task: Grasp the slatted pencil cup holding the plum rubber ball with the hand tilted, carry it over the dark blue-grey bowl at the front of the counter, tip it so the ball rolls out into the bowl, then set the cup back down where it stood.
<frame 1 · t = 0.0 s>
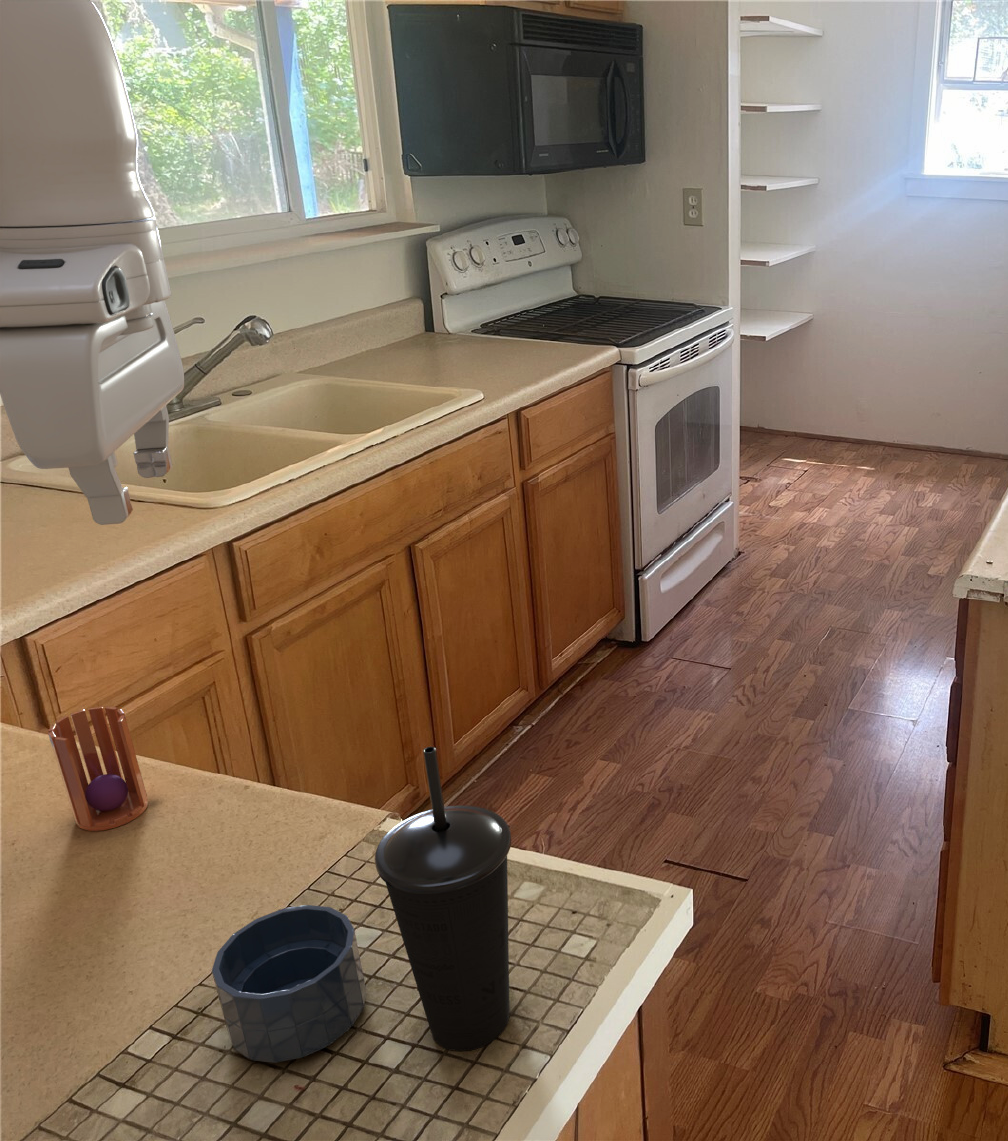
hand: (137, 496, 68), 30 cm above the countertop, tool pointing down, fingers open, 8 cm apart
slatted pencil cup: (112, 811, 88), on the countertop, touching ball
ball: (106, 792, 88), point 2 cm above the countertop, touching slatted pencil cup
drinking cup: (470, 1024, 67), on the countertop
bowl: (300, 1017, 68), on the countertop
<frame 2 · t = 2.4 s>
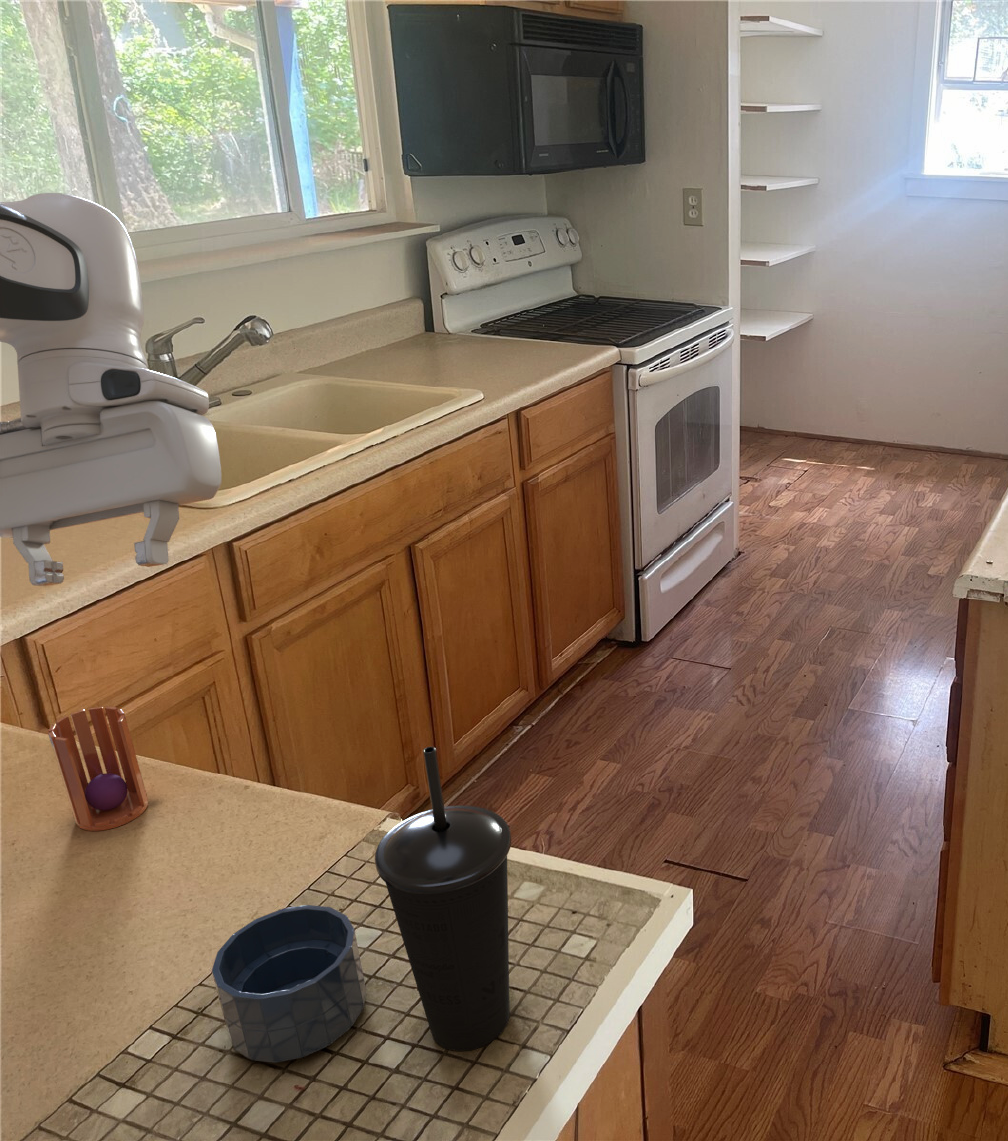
hand: (99, 575, 83), 20 cm above the countertop, tool tilted 30°, fingers open, 8 cm apart
ball: (106, 791, 88), point 2 cm above the countertop, tilted 5°, touching slatted pencil cup
everything else where it was.
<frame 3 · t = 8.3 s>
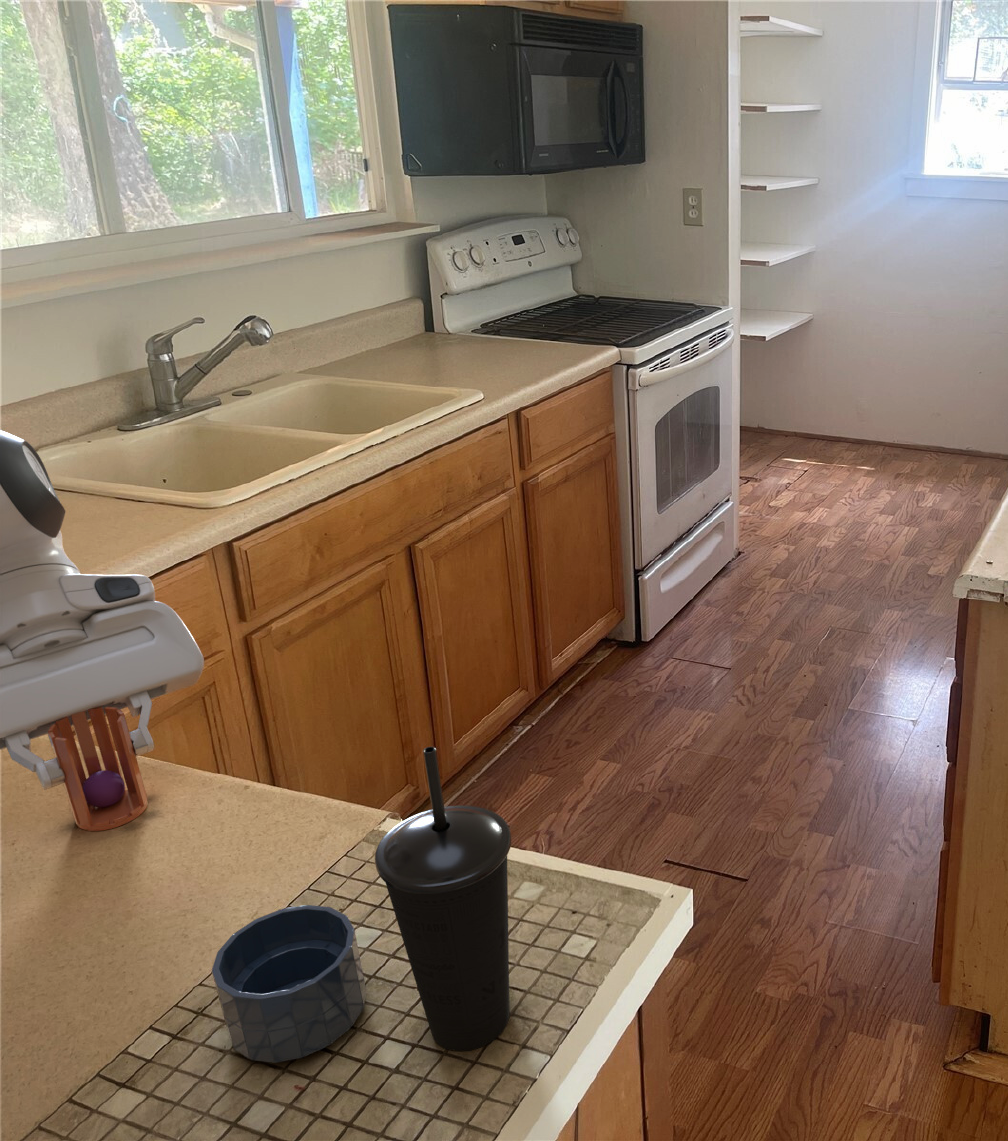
hand: (101, 767, 86), 5 cm above the countertop, tool tilted 45°, fingers closed on slatted pencil cup, 5 cm apart
slatted pencil cup: (112, 811, 88), on the countertop, touching ball, gripper
ball: (103, 788, 88), point 2 cm above the countertop, tilted 30°, touching slatted pencil cup
everything else where it was.
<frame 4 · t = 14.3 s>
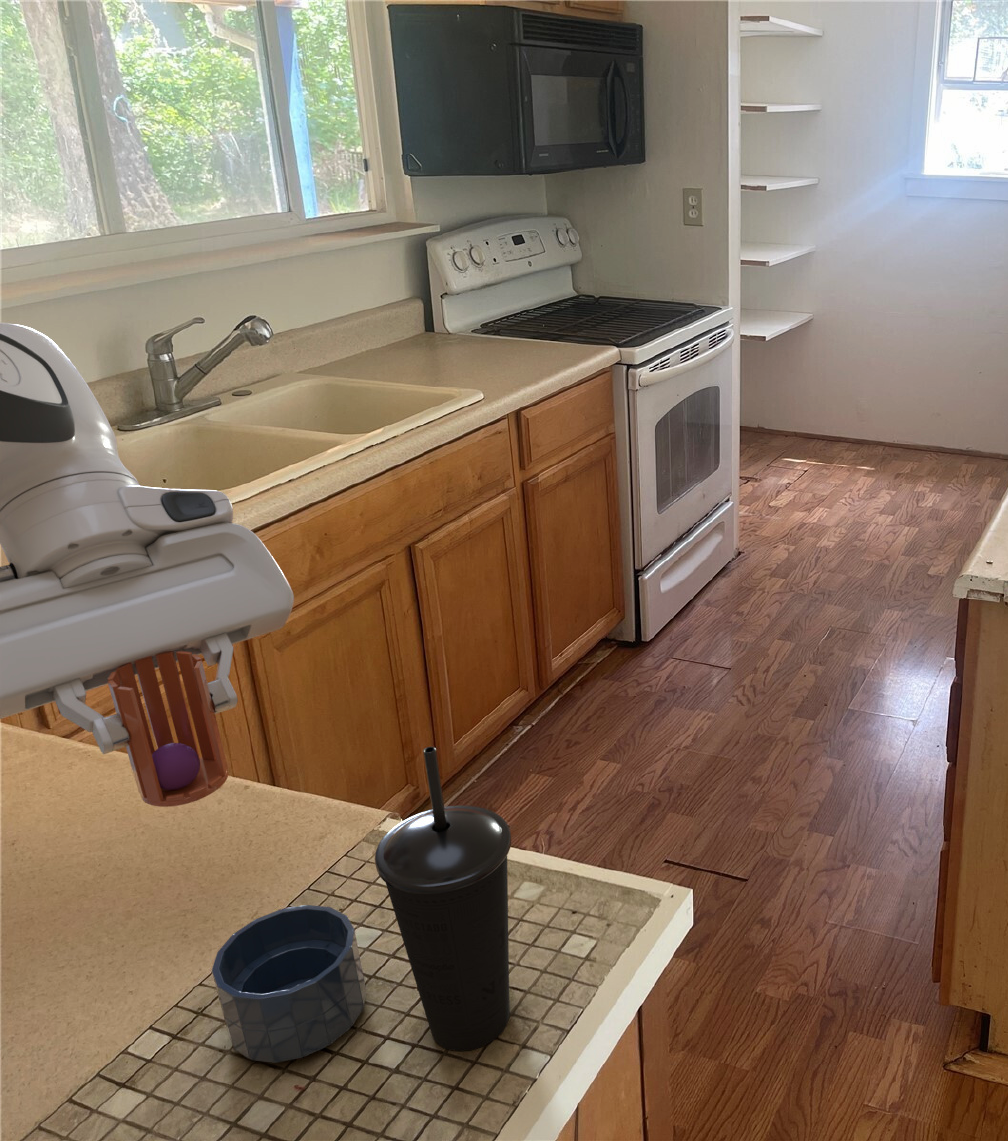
hand: (173, 726, 68), 17 cm above the countertop, tool tilted 45°, fingers closed on slatted pencil cup, 5 cm apart
slatted pencil cup: (185, 783, 70), point 12 cm above the countertop, touching ball, gripper
ball: (173, 766, 69), point 14 cm above the countertop, tilted 30°, touching slatted pencil cup
everything else where it was.
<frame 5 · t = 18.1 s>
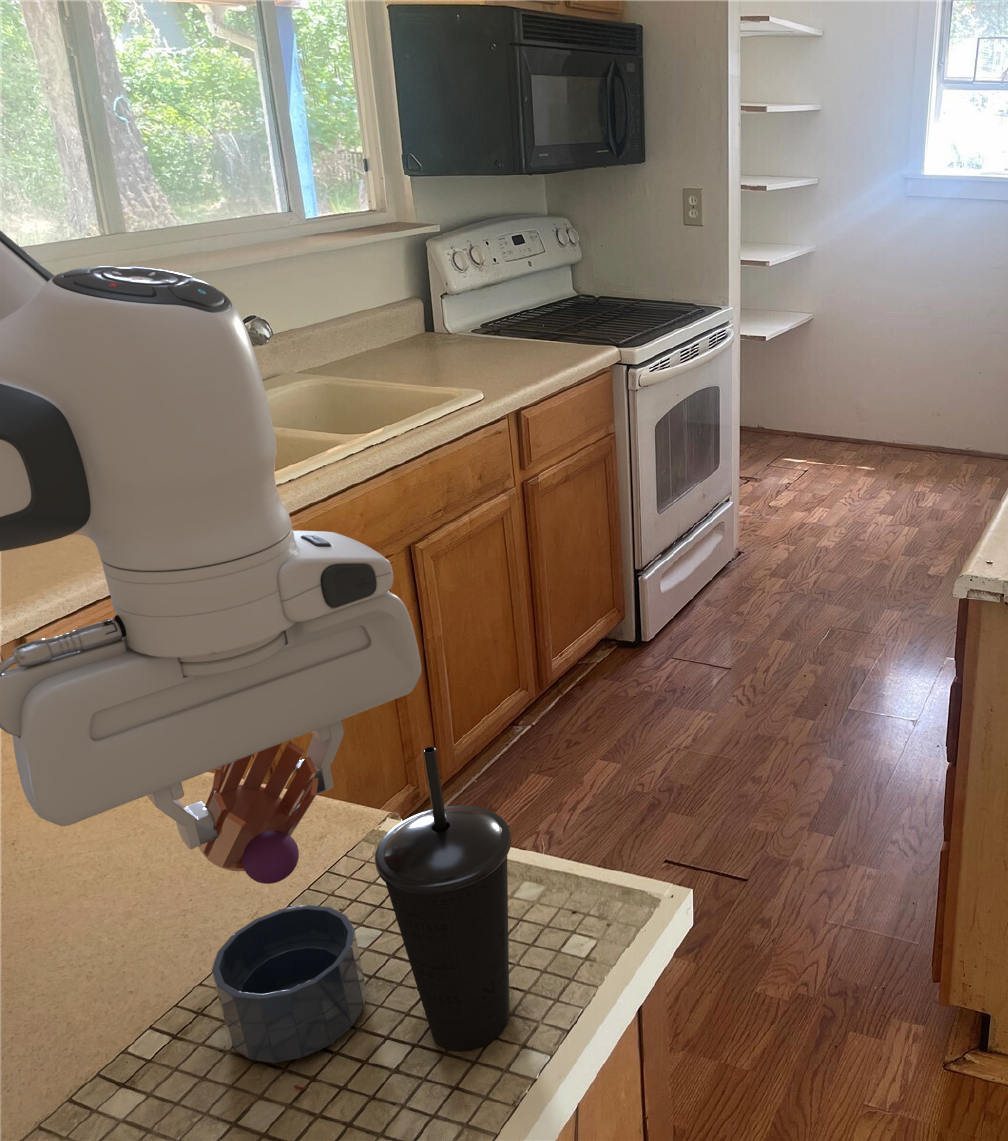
hand: (261, 813, 61), 16 cm above the countertop, tool pointing down, fingers closed on slatted pencil cup, 5 cm apart
slatted pencil cup: (243, 828, 64), point 13 cm above the countertop, tilted 45°, touching gripper
ball: (270, 857, 62), point 13 cm above the countertop, tilted 147°
everything else where it was.
when the fingers open (4 cm above the countertop, at t = 29.9 s): slatted pencil cup stays where it is, on the countertop.
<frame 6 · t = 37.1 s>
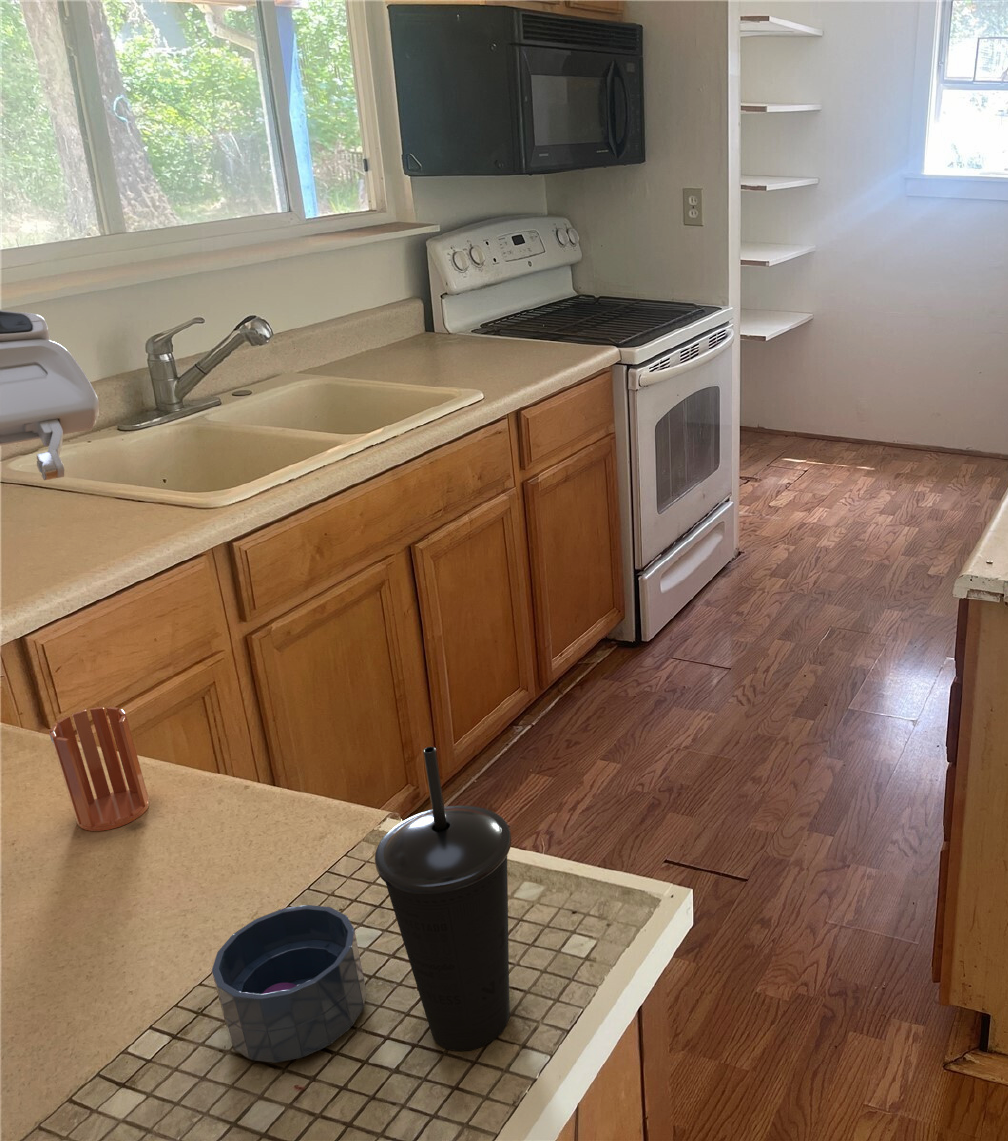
slatted pencil cup: (113, 812, 88), on the countertop
ball: (281, 1008, 66), point 2 cm above the countertop, tilted 123°, touching bowl
everything else where it was.
at the end: ball inside the target area in the bowl (1.3 cm from its centre), point 2.0 cm above the bowl's base; slatted pencil cup tilted 0° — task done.
